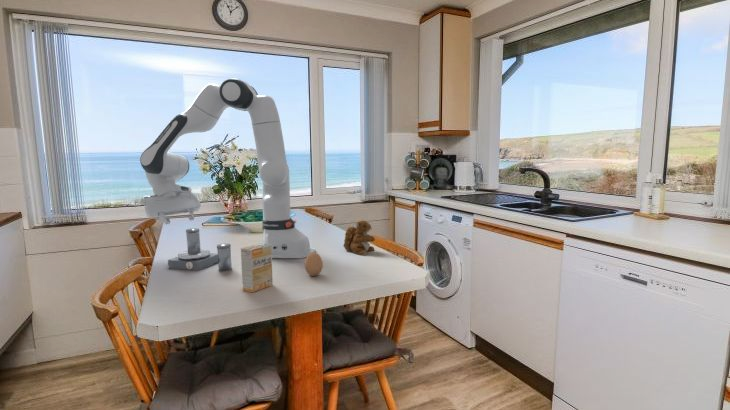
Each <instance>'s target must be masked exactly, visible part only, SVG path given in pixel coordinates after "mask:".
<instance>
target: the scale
mask: <svg viewBox="0 0 730 410" xmlns="http://www.w3.org/2000/svg"><path fill="white" fill-rule="evenodd" d="M167 264H168V266H167V267H168V269H175V270H176V269H177V270H188V271H190V270H191V271H201V270H203V269H206V268H208V267H210V266H212V265H216V264H218V253H213V252H210V255H209V256H207V257H204V258H200V259H193V260H182V259H179V258H178V256H175V257H172V258H169V259H168V260H167Z"/></svg>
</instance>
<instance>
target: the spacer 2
mask: <svg viewBox="0 0 730 410" xmlns="http://www.w3.org/2000/svg"><path fill="white" fill-rule="evenodd" d="M216 250H217V252H216V253H217V254H218V262H217V265H218V267H217V268H218V271H219V272H227V271H231V270H232V269H233V268H232V266H233V265H232V253H231V251H232V250H231V243H226V242H225V243H219V244H217V245H216Z"/></svg>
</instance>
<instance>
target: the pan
mask: <svg viewBox="0 0 730 410" xmlns="http://www.w3.org/2000/svg"><path fill="white" fill-rule="evenodd" d="M210 253H211V251H210V250H208V249H201V253H199V254H194V255H189V254H188V250H186V251H182V252H179V253H178V254H177V257H178V258H179V259H182V260H193V259H200V258H204V257H207V256H209V255H210Z"/></svg>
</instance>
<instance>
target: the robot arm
mask: <svg viewBox="0 0 730 410" xmlns="http://www.w3.org/2000/svg"><path fill="white" fill-rule="evenodd" d="M192 101H193V102H192V103H191V105H190V106H189V107H188V108H187V109H186V110H185V111H183V112H182V113H180V114H177V115H175V116H174V117H173V118H172V119H171V120H170V122H169V123H168V124H167V125H166V126H165V128H164V129H163V130H162V132H160V133H159V135H158V137H157V138H156V139H155V140H154V141H153V142H152V143H151V144H150V146H149V145H148V147H147V148H145V149H144V150H143V152H142V153H141V155H140V159H139V161H140V165H141V168H142V169H143V171H144V172H145V176H146V179H147V181H148V184H149V186H151V188H152V192H153V195H144V196H142V198H140V199H141V201H140V202H141V204H142V205H143V206H144V211H145V214H146V217H148V218H150V219H151V218H158V219H159V220H160V221H162V222H163V223H164V225H170V224H171V220H170V218H169V217H168V218H167V217H166V216H174V215H180V214H186V213H187V214H189V216H188V220H189V221H191V222H192V221H194V220H195V216H194V214H195V213H194V212H198V211H199V210H200V208H201V202H200V200H199V199H198V197H197V195H196V194H195V193H193V192H192V187H190V186H185V185H179V184H176V182H178V181H180V180H181V179H183V178H184V177H185V176H186V175H187V174H188V173H189V171H190V161H189V160H188V158H187V157H186V156H185V155H182V154H179V153H175V152H171V151H169V150H170V149H171V148H172V147H173V145H174V144H175V143H176V141H177V140H178V139H180V137H182V136H185V135H186V134H192V133H206V132H209V131H211V130H212V129H213V128H215V126H216V124H217V123H218V122H219V120H220V118H221V116H222V115H223V113H224V111H225V110H226V109H227V108H230V107H231V108H233V109H235V110H238V111H242V112H248V113H249V116H250V120H251V126H252V131H253V132H252V133H253V138H254V142H255V151H256V160H257V167H258V173H259V178H260V180H261V181H262V198H261V199H262V202H261V203H262V219H261V221H262V222H261V224H262V226H261V227H262V232H263V234H262V243H264V244H270V245H271V253H272V259H303V258H307V256H308V255H309V254H310V253H313V252H314V253H316V248H315V247H312V246H311V244H310V239H309V237H308V236H307V235H306V234H304V233H303V232H302V231H300V230H299V229H298V228H297V227H295V226H296V223H297V220H296V219H292V218H291V217H292V216H291V196H290V195H291V193H290V192H291V191H290V190H291V189H290V187H291V186H290V184H291V183H290V169H289V166H288V162H287V155H286V149H285V143H284V136H283V131H282V124H281V120H280V115H279V111H278V108H277V105H276V102H275V100H274V99H273V97H271V96H269V95H267V94H266V95H264V94H258V92H257V90H256V89H255V87H253V86H252V85H250V84H249V83H248V82H246V81H244V80H241V79H239V78H233V77H232V78H227V79H225V80H223V82H222V83H221V84H220V85H219V84H216V83H208V84H206V85H205V86H203V88H202V89H201V91H199V93H198V94H197V95H196V97H195V98H194V100H192Z"/></svg>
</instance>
